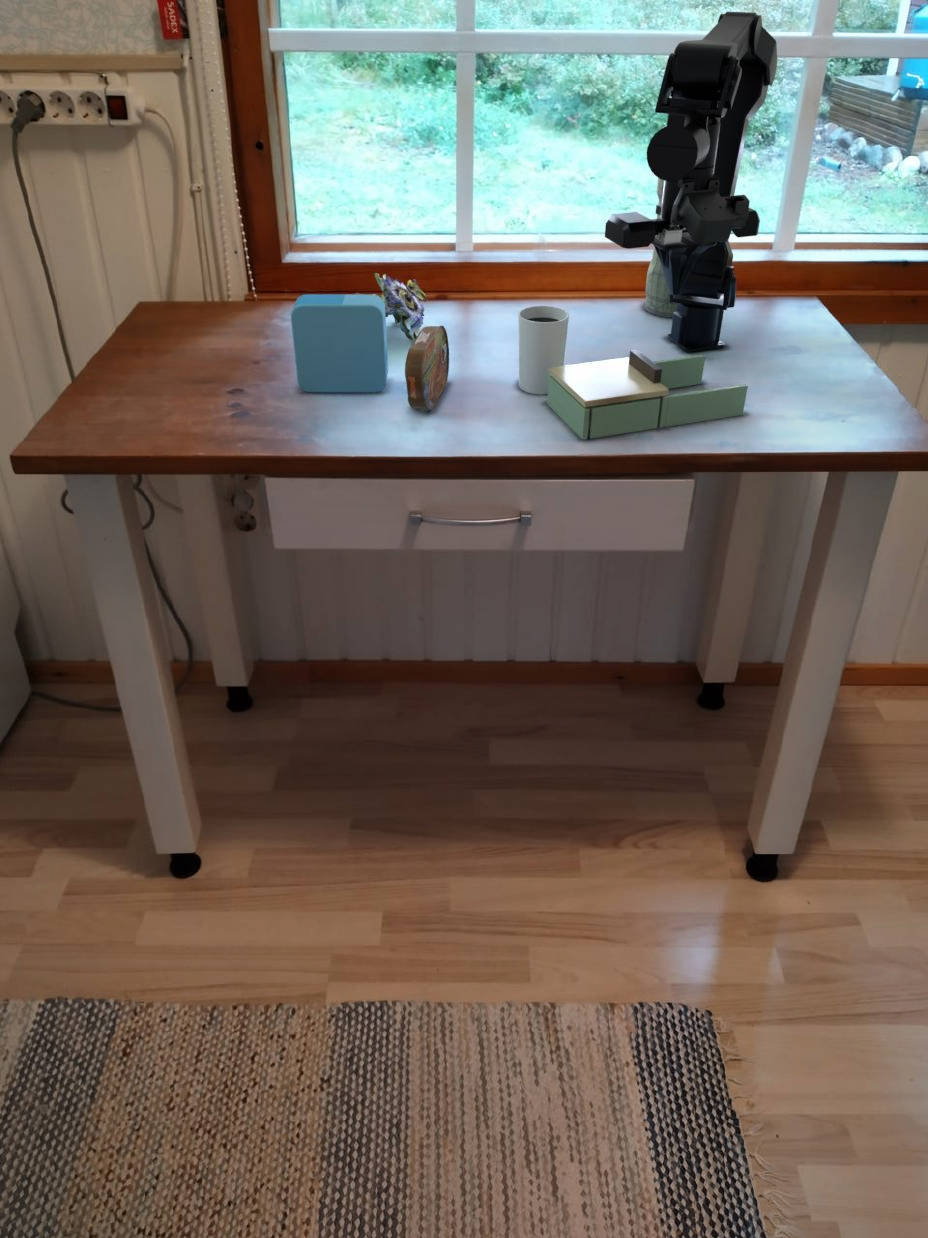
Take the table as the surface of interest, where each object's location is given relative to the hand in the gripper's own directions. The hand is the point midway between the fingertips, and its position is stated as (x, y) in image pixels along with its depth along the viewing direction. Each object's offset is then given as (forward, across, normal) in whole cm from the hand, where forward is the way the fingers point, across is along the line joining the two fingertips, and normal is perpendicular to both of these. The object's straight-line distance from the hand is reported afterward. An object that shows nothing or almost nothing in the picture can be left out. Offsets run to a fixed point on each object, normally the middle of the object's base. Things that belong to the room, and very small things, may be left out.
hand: (674, 294), depth 127 cm
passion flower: (+13, -30, +31) cm, 45 cm away
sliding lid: (+9, -11, -5) cm, 15 cm away
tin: (+13, -31, +8) cm, 35 cm away
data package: (+13, -41, +15) cm, 46 cm away
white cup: (+13, -15, +6) cm, 21 cm away
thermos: (+13, +17, +29) cm, 36 cm away
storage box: (+13, -5, -5) cm, 15 cm away
